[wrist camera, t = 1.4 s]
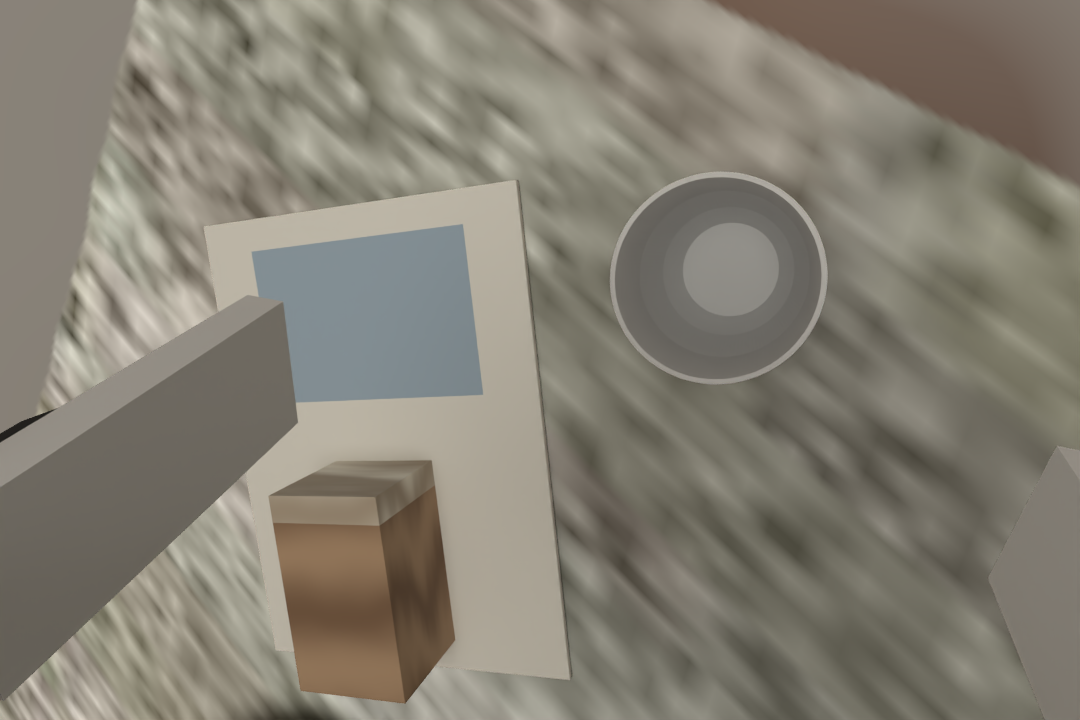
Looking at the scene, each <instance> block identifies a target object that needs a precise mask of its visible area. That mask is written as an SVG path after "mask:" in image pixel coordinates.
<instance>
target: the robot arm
mask: <svg viewBox="0 0 1080 720" xmlns="http://www.w3.org/2000/svg"><path fill="white" fill-rule="evenodd" d="M297 423H298V417H297V409H296V401H295V393H294V385H293V377H292V369H291V361H290V353H289V345H288V337H287V329H286V321H285V312H284V304H283V301H278V300H273V299H267V298H262V297H257V296H251V295H246V296H245V297H243V298H241V299H240V300H238V301H236V302H235V303H233V304H231V305H230V306H228V307H226V308H225V309H223V310H221V311H220V312H218V313H216V314H215V315H213V316H211V317H209V318H208V319H206V320H204V321H203V322H201V323H199V324H198V325H196V326H194V327H193V328H191V329H189V330H188V331H186V332H184V333H183V334H181V335H179V336H178V337H176V338H174V339H173V340H171V341H169V342H168V343H166V344H164V345H163V346H161V347H159V348H158V349H156V350H154V351H153V352H151V353H149V354H148V355H146V356H144V357H143V358H141V359H139V360H138V361H136V362H134V363H133V364H131V365H129V366H128V367H126V368H124V369H123V370H121V371H119V372H117V373H116V374H114V375H112V376H111V377H109V378H107V379H106V380H104V381H102V382H101V383H99V384H97V385H96V386H94V387H92V388H91V389H89V390H87V391H86V392H84V393H82V394H81V395H79V396H77V397H76V398H74V399H72V400H71V401H69V402H67V403H66V404H64V405H62V406H61V407H59V408H57V409H54V410H51V411H49V412H46V413H43V414H40V415H38V416H35V417H32V418H29V419H27V420H24V421H21V422H19V423H18V424H16V425H14V426H13V427H11V428H9V429H8V430H6V431H4V432H2V433H1V434H0V700H3V701H4V700H5V699H6V698H7V697H8V696H10V695H11V694H12V693H13V692H14V691H15V690H16V689H17V688H18V687H19V686H20V685H21V684H22V683H23V682H24V681H25V680H26V679H27V678H29V677H30V676H31V675H32V674H33V673H34V672H35V671H36V670H37V669H38V668H39V667H40V666H41V665H42V664H43V663H44V662H45V661H47V660H48V659H49V658H50V657H51V656H52V655H53V654H54V653H55V652H56V651H57V650H58V649H59V648H60V647H61V646H62V645H63V644H65V643H66V642H67V641H68V640H69V639H70V638H71V637H72V636H73V635H74V634H75V633H76V632H77V631H78V630H79V629H80V628H81V627H83V626H84V625H85V624H86V623H87V622H88V621H89V620H90V619H91V618H92V617H93V616H94V615H95V614H96V613H97V612H98V611H99V610H101V609H102V608H103V607H104V606H105V605H106V604H107V603H108V602H109V601H110V600H111V599H112V598H113V597H114V596H115V595H116V594H117V593H119V592H120V591H121V590H122V589H123V588H124V587H125V586H126V585H127V584H128V583H129V582H130V581H131V580H132V579H133V578H134V577H135V576H137V575H138V574H139V573H140V572H141V571H142V570H143V569H144V568H145V567H146V566H147V565H148V564H149V563H150V562H151V561H152V560H153V559H154V558H156V557H157V556H158V555H159V554H160V553H161V552H162V551H163V550H164V549H165V548H166V547H167V546H168V545H169V544H170V543H171V542H172V541H174V540H175V539H176V538H177V537H178V536H179V535H180V534H181V533H182V532H183V531H184V530H185V529H186V528H187V527H188V526H189V525H190V524H192V523H193V522H194V521H195V520H196V519H197V518H198V517H199V516H200V515H201V514H202V513H203V512H204V511H205V510H206V509H207V508H208V507H210V506H211V505H212V504H213V503H214V502H215V501H216V500H217V499H218V498H219V497H220V496H221V495H222V494H223V493H224V492H225V491H226V490H228V489H229V488H230V487H231V486H232V485H233V484H234V483H235V482H236V481H237V480H238V479H239V478H240V477H241V476H242V475H243V474H244V473H246V472H247V471H248V470H249V469H250V468H251V467H252V466H253V465H254V464H255V463H256V462H257V461H258V460H259V459H260V458H261V457H262V456H264V455H265V454H266V453H267V452H268V451H269V450H270V449H271V448H272V447H273V446H274V445H275V444H276V443H277V442H278V441H279V440H280V439H281V438H283V437H284V436H285V435H286V434H287V433H288V432H289V431H290V430H291V429H292V428H293V427H294V426H295V425H296V424H297ZM988 580H989V582H990V585H991V587H992V590H993V592H994V595H995V597H996V600H997V602H998V605H999V607H1000V610H1001V612H1002V615H1003V617H1004V620H1005V622H1006V625H1007V627H1008V630H1009V632H1010V635H1011V637H1012V640H1013V642H1014V645H1015V647H1016V650H1017V652H1018V655H1019V657H1020V660H1021V662H1022V665H1023V667H1024V670H1025V672H1026V675H1027V677H1028V680H1029V682H1030V685H1031V687H1032V690H1033V692H1034V695H1035V697H1036V700H1037V702H1038V705H1039V707H1040V710H1041V712H1042V715H1043V717H1044V720H1080V450H1076V449H1071V448H1065V447H1060V446H1056V448H1055V450H1054V452H1053V454H1052V456H1051V458H1050V460H1049V462H1048V463H1047V465H1046V467H1045V469H1044V471H1043V473H1042V475H1041V477H1040V479H1039V481H1038V483H1037V485H1036V486H1035V488H1034V490H1033V492H1032V494H1031V496H1030V498H1029V500H1028V502H1027V504H1026V506H1025V507H1024V509H1023V511H1022V513H1021V515H1020V517H1019V519H1018V521H1017V523H1016V525H1015V527H1014V529H1013V530H1012V532H1011V534H1010V536H1009V538H1008V540H1007V542H1006V544H1005V546H1004V548H1003V550H1002V552H1001V553H1000V555H999V557H998V559H997V561H996V563H995V565H994V567H993V569H992V571H991V573H990V575H989V576H988Z"/></svg>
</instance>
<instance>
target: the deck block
mask: <svg viewBox="0 0 1080 720" xmlns="http://www.w3.org/2000/svg"><path fill="white" fill-rule="evenodd" d="M268 497H269V503H270V509H271V515H272V521H273V527H274V533H275V539H276V545H277V551H278V557H279V563H280V569H281V575H282V581H283V587H284V593H285V599H286V605H287V611H288V617H289V623H290V629H291V635H292V641H293V647H294V653H295V659H296V665H297V671H298V677H299V683H300V689H301V691H307V692H315V693H324V694H332V695H340V696H348V697H356V698H364V699H372V700H381V701H389V702H397V703H406V702H407V701H408V699H409V698H410V697H411V696H412V694H413V693H414V692H415V690H416V689H417V688H418V687H419V685H420V684H421V683H422V682H423V680H424V679H425V678H426V677H427V675H428V674H429V673H430V671H431V670H432V669H433V668H434V666H435V665H436V664H437V663H438V661H439V660H440V659H441V658H442V656H443V655H444V654H445V653H446V651H447V650H448V649H449V647H450V646H451V645H452V644H453V642H454V641H455V634H454V626H453V619H452V611H451V603H450V596H449V588H448V581H447V573H446V565H445V558H444V550H443V543H442V535H441V527H440V520H439V512H438V505H437V497H436V489H435V482H434V474H433V467H432V460H411V461H335V462H333V463H331V464H329V465H327V466H325V467H324V468H322V469H320V470H318V471H316V472H314V473H312V474H310V475H308V476H306V477H304V478H302V479H300V480H298V481H296V482H294V483H292V484H290V485H288V486H286V487H284V488H282V489H281V490H279V491H277V492H275V493H273V494H271V495H269V496H268Z"/></svg>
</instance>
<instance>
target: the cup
mask: <svg viewBox="0 0 1080 720" xmlns="http://www.w3.org/2000/svg"><path fill="white" fill-rule="evenodd" d="M827 278H828V277H827V261H826V255H825V251H824V247H823V244H822V241H821V238H820V236H819V233H818V231H817V229H816V227H815V225H814V224H813V222H812V220H811V219H810V217H809V216H808V214H807V213H806V212H805V211H804V209H803V208H802V207H801V206H800V205H799V204H798V203H797V202H796V201H795V200H794V199H793V198H792V197H791V196H789V195H788V194H787V193H786V192H784V191H783V190H781V189H780V188H778V187H776V186H775V185H773V184H771V183H769V182H767V181H765V180H762V179H760V178H757V177H754V176H750V175H746V174H742V173H735V172H707V173H701V174H696V175H692V176H689V177H686V178H683V179H680V180H678V181H675V182H673V183H671V184H669V185H667V186H666V187H664V188H662V189H661V190H659V191H658V192H656V193H655V194H653V195H652V196H651V197H650V198H648V199H647V200H646V201H645V202H644V203H643V204H642V205H641V206H640V207H639V208H638V209H637V210H636V212H635V213H634V214H633V215H632V217H631V218H630V219H629V221H628V222H627V224H626V225H625V227H624V229H623V231H622V233H621V235H620V237H619V239H618V242H617V244H616V247H615V250H614V254H613V258H612V263H611V271H610V290H611V298H612V303H613V307H614V311H615V314H616V317H617V319H618V322H619V324H620V326H621V328H622V330H623V331H624V333H625V335H626V336H627V338H628V339H629V341H630V342H631V343H632V345H633V346H634V347H635V348H636V349H637V351H638V352H639V353H640V354H641V355H642V356H644V357H645V358H646V359H647V360H648V361H649V362H651V363H652V364H653V365H655V366H656V367H658V368H660V369H661V370H663V371H665V372H667V373H669V374H671V375H673V376H676V377H678V378H681V379H684V380H688V381H692V382H697V383H703V384H729V383H736V382H741V381H745V380H748V379H752V378H754V377H757V376H760V375H762V374H764V373H766V372H768V371H770V370H772V369H773V368H775V367H777V366H778V365H780V364H781V363H783V362H784V361H785V360H786V359H788V358H789V357H790V356H791V355H792V354H793V353H794V352H795V351H796V350H797V349H798V348H799V347H800V346H801V345H802V344H803V343H804V341H805V340H806V339H807V337H808V336H809V334H810V333H811V331H812V330H813V328H814V326H815V324H816V322H817V320H818V318H819V316H820V313H821V310H822V307H823V304H824V300H825V296H826V290H827Z"/></svg>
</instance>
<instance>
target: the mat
mask: <svg viewBox="0 0 1080 720" xmlns="http://www.w3.org/2000/svg"><path fill="white" fill-rule="evenodd" d="M204 232H205V238H206V243H207V249H208V255H209V261H210V267H211V273H212V279H213V284H214V290H215V296H216V302H217V308H218V312H220V311H221V310H223V309H225V308H226V307H228V306H230V305H231V304H233V303H235V302H236V301H238V300H240V299H241V298H243V297H245V296H246V295H251V296H257V297H262V298H267V299H273V300H278V301H283V304H284V312H285V321H286V329H287V337H288V345H289V353H290V361H291V369H292V377H293V385H294V393H295V401H296V409H297V417H298V423H297V424H296V425H295V426H294V427H293V428H292V429H291V430H290V431H289V432H288V433H287V434H286V435H285V436H284V437H283V438H281V439H280V440H279V441H278V442H277V443H276V444H275V445H274V446H273V447H272V448H271V449H270V450H269V451H268V452H267V453H266V454H265V455H264V456H262V457H261V458H260V459H259V460H258V461H257V462H256V463H255V464H254V465H253V466H252V467H251V468H250V469H249V470H248V471H247V472H246V478H247V484H248V489H249V495H250V501H251V507H252V513H253V519H254V525H255V530H256V536H257V542H258V548H259V554H260V560H261V566H262V571H263V577H264V583H265V589H266V595H267V601H268V606H269V612H270V618H271V624H272V630H273V636H274V642H275V647H276V650H279V651H288V652H294V647H293V641H292V635H291V629H290V623H289V617H288V611H287V605H286V599H285V593H284V587H283V581H282V575H281V569H280V563H279V557H278V551H277V545H276V539H275V533H274V527H273V521H272V515H271V509H270V503H269V497H268V496H269V495H271V494H273V493H275V492H277V491H279V490H281V489H282V488H284V487H286V486H288V485H290V484H292V483H294V482H296V481H298V480H300V479H302V478H304V477H306V476H308V475H310V474H312V473H314V472H316V471H318V470H320V469H322V468H324V467H325V466H327V465H329V464H331V463H333V462H335V461H411V460H432V467H433V474H434V482H435V489H436V497H437V505H438V512H439V520H440V527H441V535H442V543H443V550H444V558H445V565H446V573H447V581H448V588H449V596H450V603H451V611H452V619H453V626H454V634H455V641H454V642H453V644H452V645H451V646H450V647H449V649H448V650H447V651H446V653H445V654H444V655H443V656H442V658H441V659H440V660H439V661H438V663H437V664H436V665H435V666H437V667H447V668H456V669H466V670H476V671H486V672H496V673H506V674H516V675H526V676H535V677H545V678H555V679H565V680H570V679H571V677H572V674H571V665H570V656H569V646H568V637H567V628H566V618H565V609H564V600H563V590H562V581H561V572H560V562H559V553H558V544H557V534H556V525H555V516H554V507H553V497H552V488H551V479H550V469H549V460H548V451H547V441H546V432H545V423H544V413H543V404H542V395H541V385H540V376H539V367H538V358H537V348H536V339H535V330H534V320H533V311H532V302H531V292H530V283H529V274H528V264H527V255H526V246H525V236H524V227H523V218H522V208H521V199H520V190H519V181H518V180H512V181H506V182H499V183H492V184H486V185H479V186H472V187H466V188H459V189H452V190H445V191H439V192H432V193H425V194H419V195H412V196H405V197H399V198H392V199H385V200H379V201H372V202H365V203H359V204H352V205H345V206H339V207H332V208H325V209H319V210H312V211H305V212H298V213H292V214H285V215H278V216H272V217H265V218H258V219H252V220H245V221H238V222H232V223H225V224H218V225H212V226H205V227H204Z"/></svg>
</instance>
